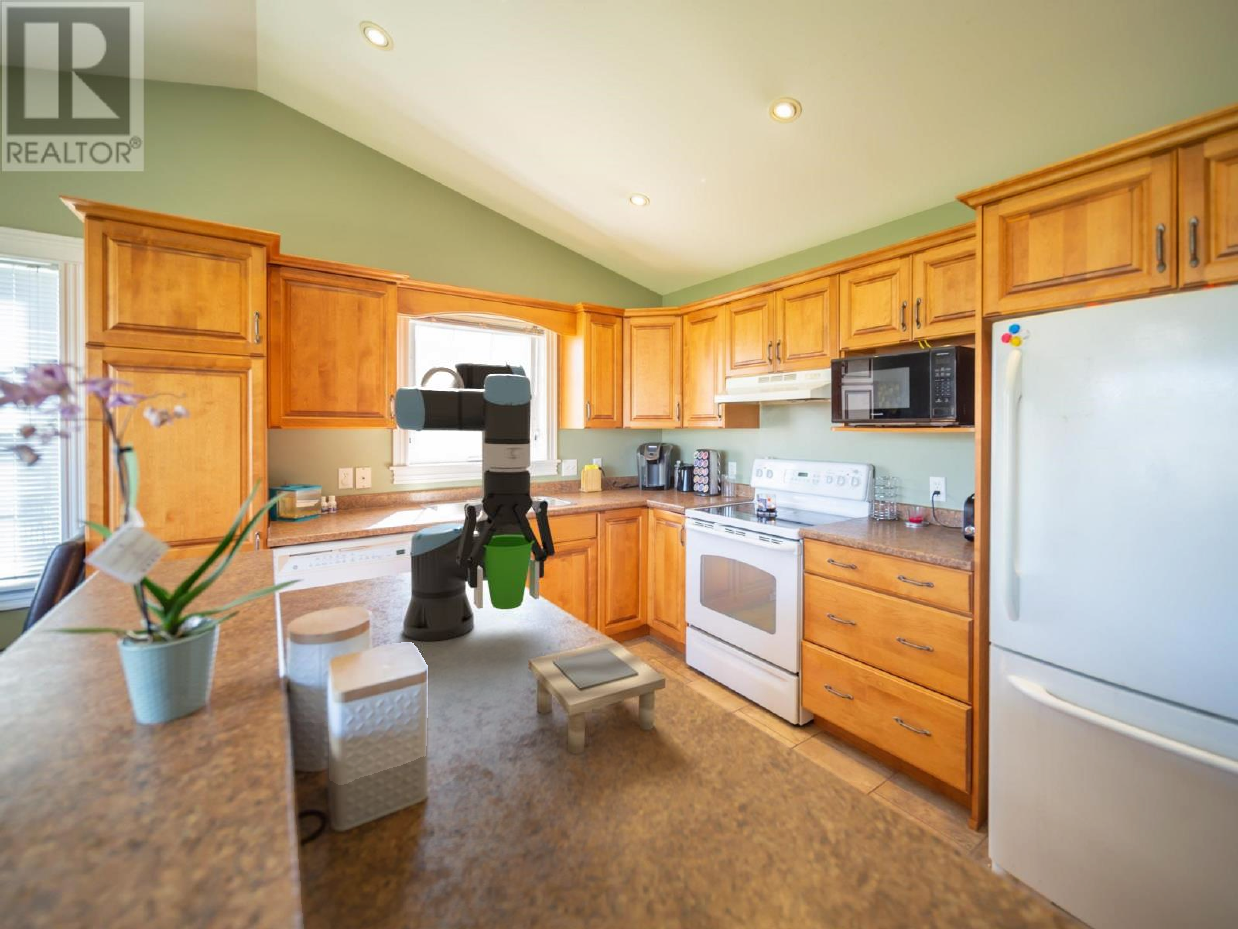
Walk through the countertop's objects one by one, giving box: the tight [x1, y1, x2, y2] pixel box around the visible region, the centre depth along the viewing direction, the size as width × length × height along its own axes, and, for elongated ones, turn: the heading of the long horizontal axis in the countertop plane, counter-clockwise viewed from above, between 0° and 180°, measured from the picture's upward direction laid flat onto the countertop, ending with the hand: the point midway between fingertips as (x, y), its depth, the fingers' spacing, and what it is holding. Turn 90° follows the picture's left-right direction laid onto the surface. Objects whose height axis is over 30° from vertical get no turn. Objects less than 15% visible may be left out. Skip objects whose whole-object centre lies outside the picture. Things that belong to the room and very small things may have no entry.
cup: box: [483, 535, 534, 610], centre depth 87 cm, size 9×9×11 cm
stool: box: [528, 640, 666, 755], centre depth 82 cm, size 16×16×8 cm
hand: (506, 600), depth 87 cm, fingers closed on cup, 9 cm apart
